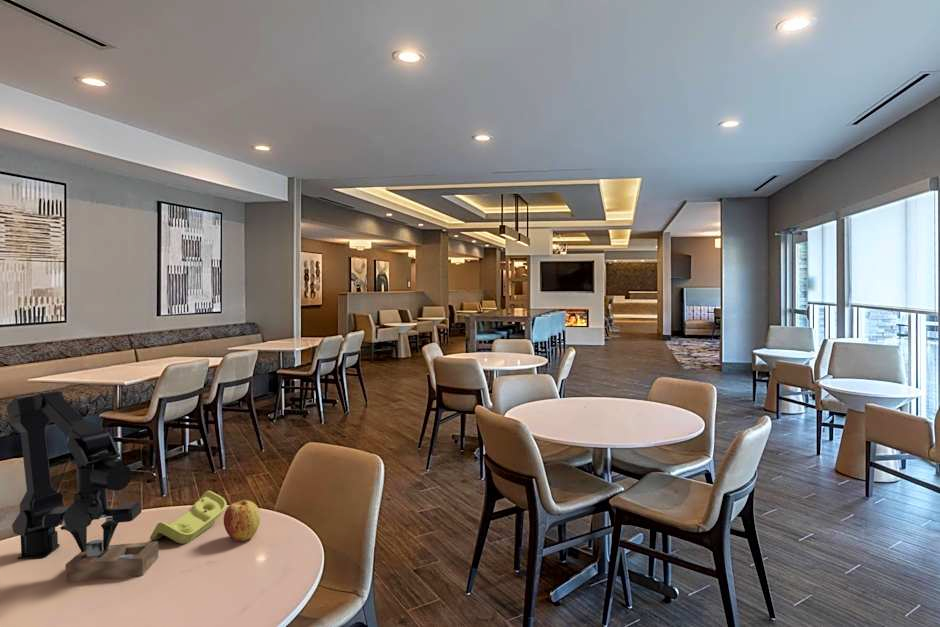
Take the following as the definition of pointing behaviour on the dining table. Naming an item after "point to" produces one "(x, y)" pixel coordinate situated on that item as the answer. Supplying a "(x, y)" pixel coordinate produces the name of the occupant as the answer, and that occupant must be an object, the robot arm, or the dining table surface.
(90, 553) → the plug
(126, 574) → the board
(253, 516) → the apple
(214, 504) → the plastic component
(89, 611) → the dining table surface
